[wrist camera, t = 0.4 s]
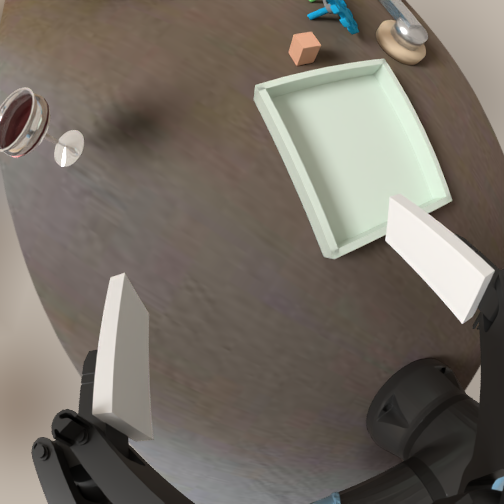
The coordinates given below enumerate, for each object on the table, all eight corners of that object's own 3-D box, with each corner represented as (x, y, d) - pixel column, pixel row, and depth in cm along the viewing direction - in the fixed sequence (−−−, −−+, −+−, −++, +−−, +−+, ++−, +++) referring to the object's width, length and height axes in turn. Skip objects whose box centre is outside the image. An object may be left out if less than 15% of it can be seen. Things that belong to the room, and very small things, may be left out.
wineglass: (72, 115, 28) (20, 78, 16) (99, 139, 29) (45, 102, 17) (42, 156, 28) (-17, 133, 16) (66, 184, 29) (3, 165, 17)
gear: (368, 44, 28) (332, -4, 21) (332, 57, 32) (290, 15, 25) (352, 4, 29) (318, -37, 22) (322, 15, 33) (284, -21, 25)
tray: (435, 203, 31) (452, 200, 28) (323, 256, 31) (334, 259, 27) (373, 70, 30) (384, 58, 26) (253, 99, 29) (255, 85, 26)
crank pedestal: (428, 64, 30) (434, 58, 28) (394, 67, 30) (400, 60, 28) (401, 26, 29) (406, 20, 27) (366, 27, 29) (370, 19, 27)
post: (313, 62, 29) (321, 45, 25) (296, 65, 29) (303, 48, 25) (304, 49, 29) (311, 31, 25) (288, 52, 29) (293, 34, 25)
